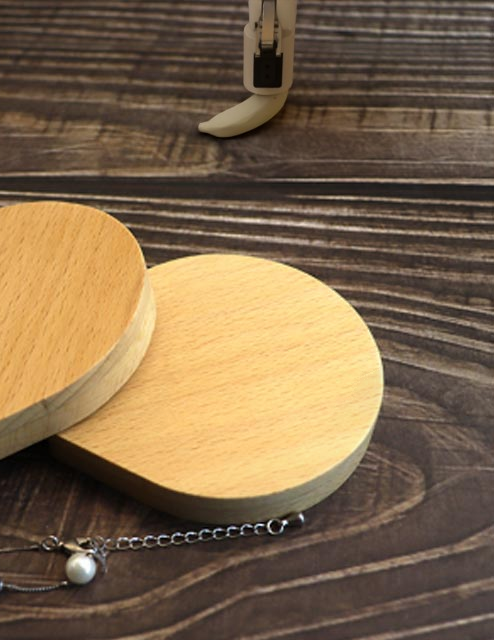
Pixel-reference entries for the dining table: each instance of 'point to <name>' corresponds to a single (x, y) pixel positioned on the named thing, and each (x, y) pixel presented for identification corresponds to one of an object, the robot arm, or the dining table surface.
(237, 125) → the fruit
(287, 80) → the paper roll
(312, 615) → the dining table surface
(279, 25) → the robot arm
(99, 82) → the dining table surface
